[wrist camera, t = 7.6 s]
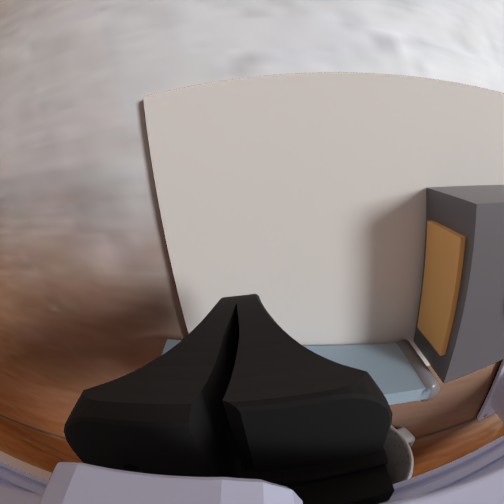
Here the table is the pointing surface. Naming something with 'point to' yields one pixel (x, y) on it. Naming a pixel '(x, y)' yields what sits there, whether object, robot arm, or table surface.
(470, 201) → the camera housing
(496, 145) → the mat
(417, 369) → the side door
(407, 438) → the ceramic mug
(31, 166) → the table surface
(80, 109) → the table surface
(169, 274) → the table surface
